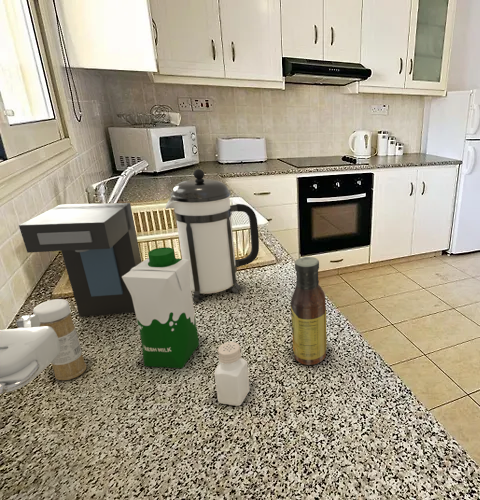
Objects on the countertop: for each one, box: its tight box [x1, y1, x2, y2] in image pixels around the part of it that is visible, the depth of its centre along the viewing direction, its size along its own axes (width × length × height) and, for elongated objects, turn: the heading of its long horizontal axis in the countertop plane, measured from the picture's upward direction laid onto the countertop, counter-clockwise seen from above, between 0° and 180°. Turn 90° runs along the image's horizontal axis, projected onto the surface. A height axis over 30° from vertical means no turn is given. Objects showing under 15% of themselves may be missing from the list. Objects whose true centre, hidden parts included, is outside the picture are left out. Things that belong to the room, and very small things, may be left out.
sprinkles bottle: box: [32, 298, 87, 381], centre depth 62 cm, size 5×5×14 cm
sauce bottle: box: [290, 256, 328, 366], centre depth 66 cm, size 6×6×20 cm
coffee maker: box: [18, 202, 143, 318], centre depth 75 cm, size 13×14×24 cm
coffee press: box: [164, 168, 260, 304], centre depth 89 cm, size 17×16×30 cm
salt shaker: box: [213, 341, 251, 407], centre depth 58 cm, size 4×4×10 cm
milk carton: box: [122, 246, 200, 369], centre depth 66 cm, size 9×9×20 cm
